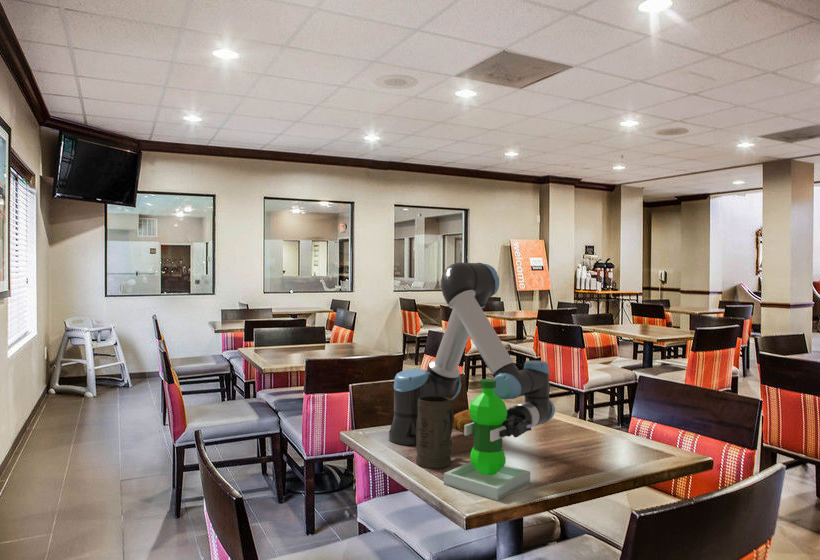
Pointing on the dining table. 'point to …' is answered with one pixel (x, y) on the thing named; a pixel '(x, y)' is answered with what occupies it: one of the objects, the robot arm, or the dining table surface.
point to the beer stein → (434, 431)
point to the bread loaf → (461, 420)
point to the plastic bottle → (487, 429)
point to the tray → (487, 480)
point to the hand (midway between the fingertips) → (478, 433)
